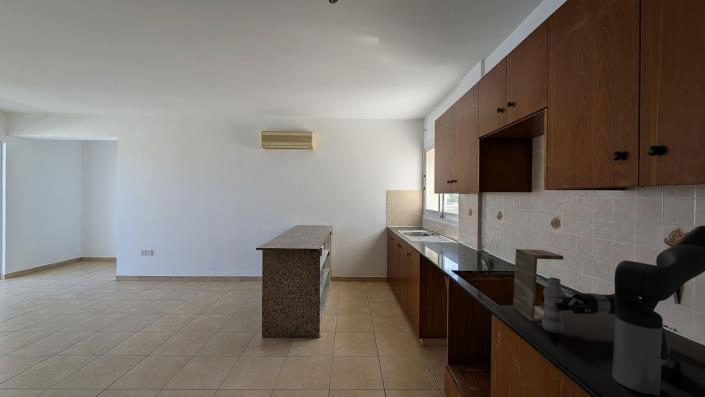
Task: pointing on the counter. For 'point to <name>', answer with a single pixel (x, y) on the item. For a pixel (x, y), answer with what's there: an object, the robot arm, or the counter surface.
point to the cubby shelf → (528, 282)
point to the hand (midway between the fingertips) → (548, 302)
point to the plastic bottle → (553, 306)
